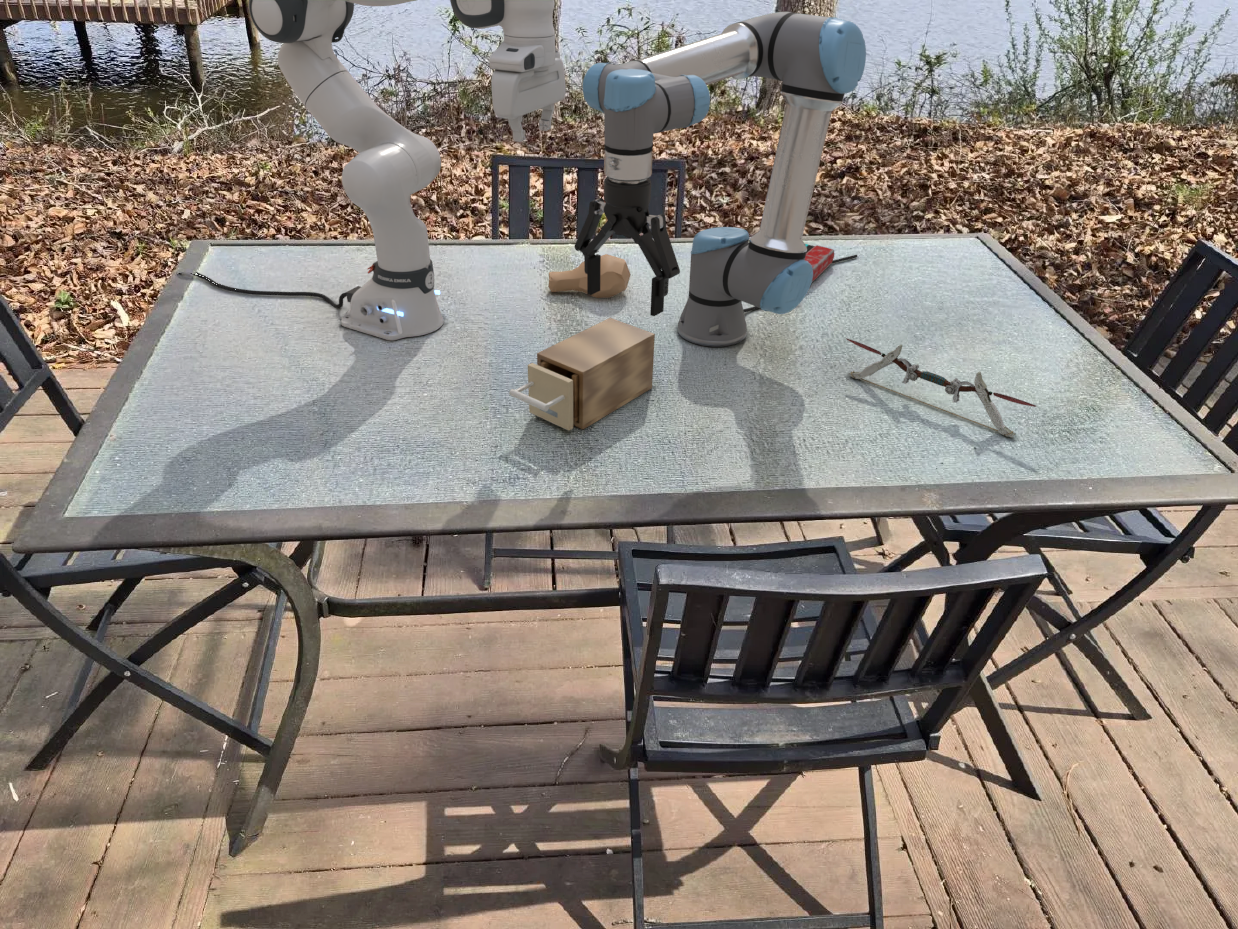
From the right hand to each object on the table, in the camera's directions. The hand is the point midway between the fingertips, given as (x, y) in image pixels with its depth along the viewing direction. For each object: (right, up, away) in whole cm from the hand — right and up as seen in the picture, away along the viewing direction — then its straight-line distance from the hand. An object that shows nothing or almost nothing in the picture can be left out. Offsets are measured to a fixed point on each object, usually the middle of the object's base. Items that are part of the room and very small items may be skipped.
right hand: (624, 302), depth 150 cm
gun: (+41, +21, +75) cm, 88 cm away
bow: (+59, -16, +20) cm, 64 cm away
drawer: (-9, -17, +15) cm, 24 cm away
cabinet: (-5, -15, +19) cm, 25 cm away
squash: (-8, +14, +62) cm, 64 cm away
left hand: (-17, +33, +10) cm, 38 cm away
